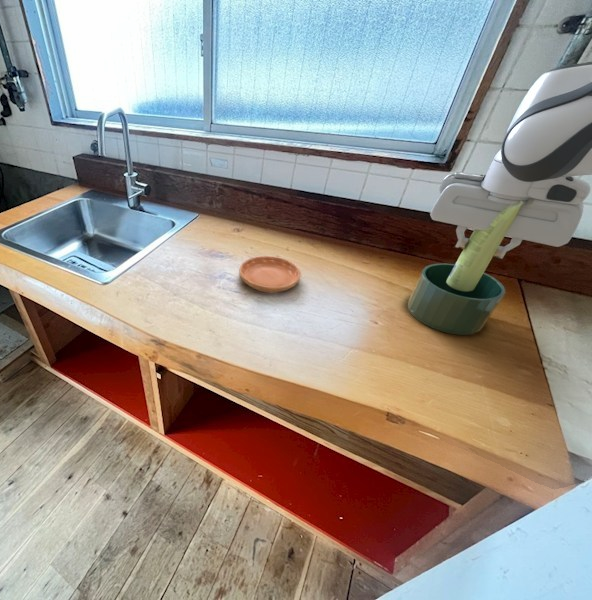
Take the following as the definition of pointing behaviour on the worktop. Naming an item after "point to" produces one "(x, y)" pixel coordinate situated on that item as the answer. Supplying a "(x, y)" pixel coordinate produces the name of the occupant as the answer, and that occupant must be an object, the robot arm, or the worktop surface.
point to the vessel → (453, 301)
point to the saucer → (269, 273)
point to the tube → (481, 251)
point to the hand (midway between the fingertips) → (478, 251)
